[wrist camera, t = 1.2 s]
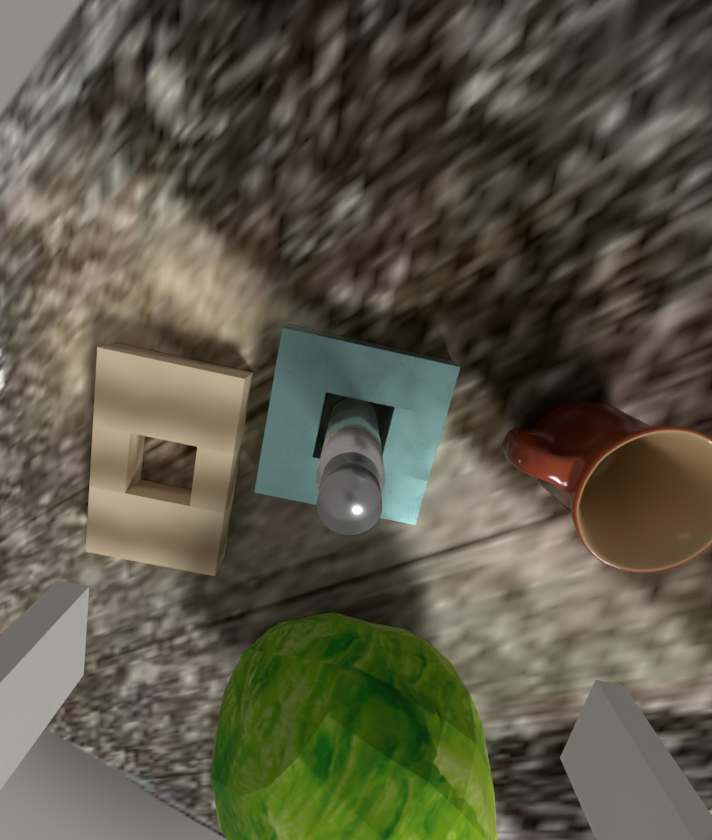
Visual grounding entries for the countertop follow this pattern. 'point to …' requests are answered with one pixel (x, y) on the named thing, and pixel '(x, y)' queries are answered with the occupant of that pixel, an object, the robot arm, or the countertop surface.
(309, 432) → the socket
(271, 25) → the countertop surface
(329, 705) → the lettuce
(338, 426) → the metal cylinder rod
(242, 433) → the wooden square-hole plate
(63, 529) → the countertop surface
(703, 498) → the mug
